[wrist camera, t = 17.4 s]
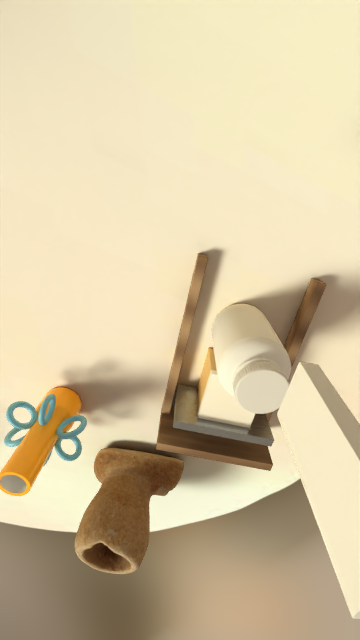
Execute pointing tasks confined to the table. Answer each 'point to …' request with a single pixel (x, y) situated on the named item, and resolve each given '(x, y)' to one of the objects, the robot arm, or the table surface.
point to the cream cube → (219, 398)
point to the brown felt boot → (123, 508)
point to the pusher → (189, 421)
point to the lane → (168, 435)
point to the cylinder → (40, 438)
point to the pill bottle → (250, 358)
